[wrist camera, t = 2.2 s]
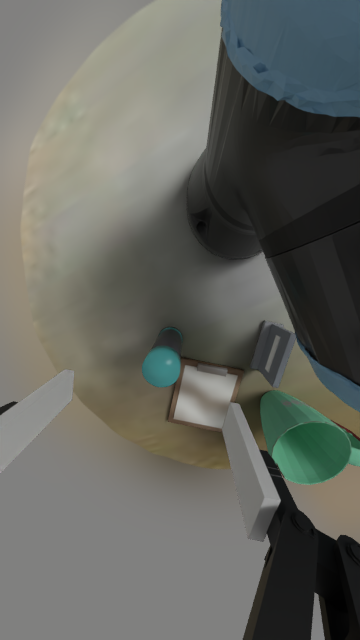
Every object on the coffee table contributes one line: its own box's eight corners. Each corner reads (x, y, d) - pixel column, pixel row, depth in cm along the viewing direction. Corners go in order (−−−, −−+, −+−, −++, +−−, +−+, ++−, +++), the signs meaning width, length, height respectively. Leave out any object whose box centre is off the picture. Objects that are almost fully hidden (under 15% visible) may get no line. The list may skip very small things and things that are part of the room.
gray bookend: (264, 320, 29) (283, 330, 23) (282, 324, 29) (305, 334, 23) (249, 366, 31) (264, 386, 25) (266, 370, 31) (285, 390, 25)
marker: (160, 324, 30) (145, 348, 19) (185, 329, 30) (183, 356, 19) (156, 347, 31) (139, 383, 20) (180, 351, 31) (176, 390, 20)
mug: (240, 419, 33) (261, 476, 23) (254, 372, 31) (285, 414, 21) (316, 434, 33) (370, 498, 23) (336, 388, 31) (405, 437, 21)
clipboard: (181, 357, 31) (181, 360, 30) (243, 369, 31) (245, 373, 30) (168, 419, 34) (167, 424, 33) (224, 430, 34) (225, 436, 33)
